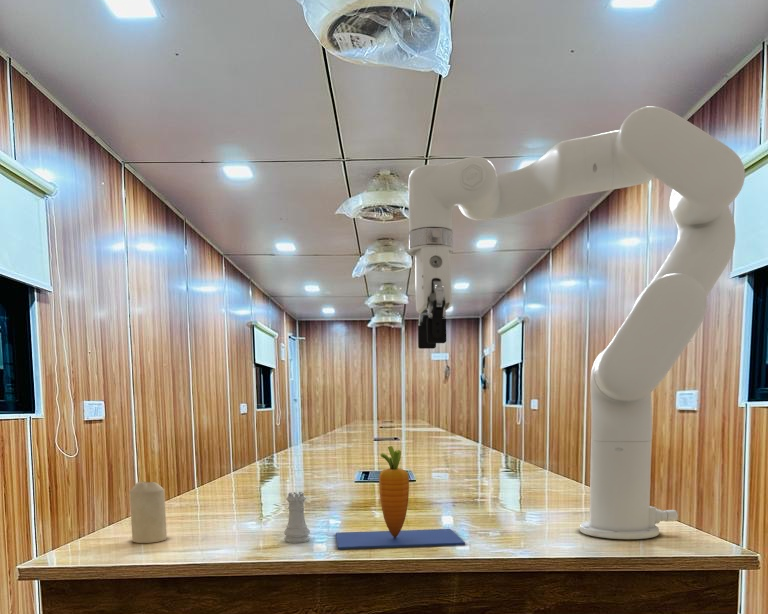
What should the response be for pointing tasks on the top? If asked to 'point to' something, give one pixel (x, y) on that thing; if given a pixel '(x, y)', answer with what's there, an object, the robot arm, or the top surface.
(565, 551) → the top surface
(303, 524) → the rook chess piece
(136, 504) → the candle
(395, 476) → the carrot
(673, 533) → the top surface
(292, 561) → the top surface
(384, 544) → the napkin
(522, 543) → the top surface
